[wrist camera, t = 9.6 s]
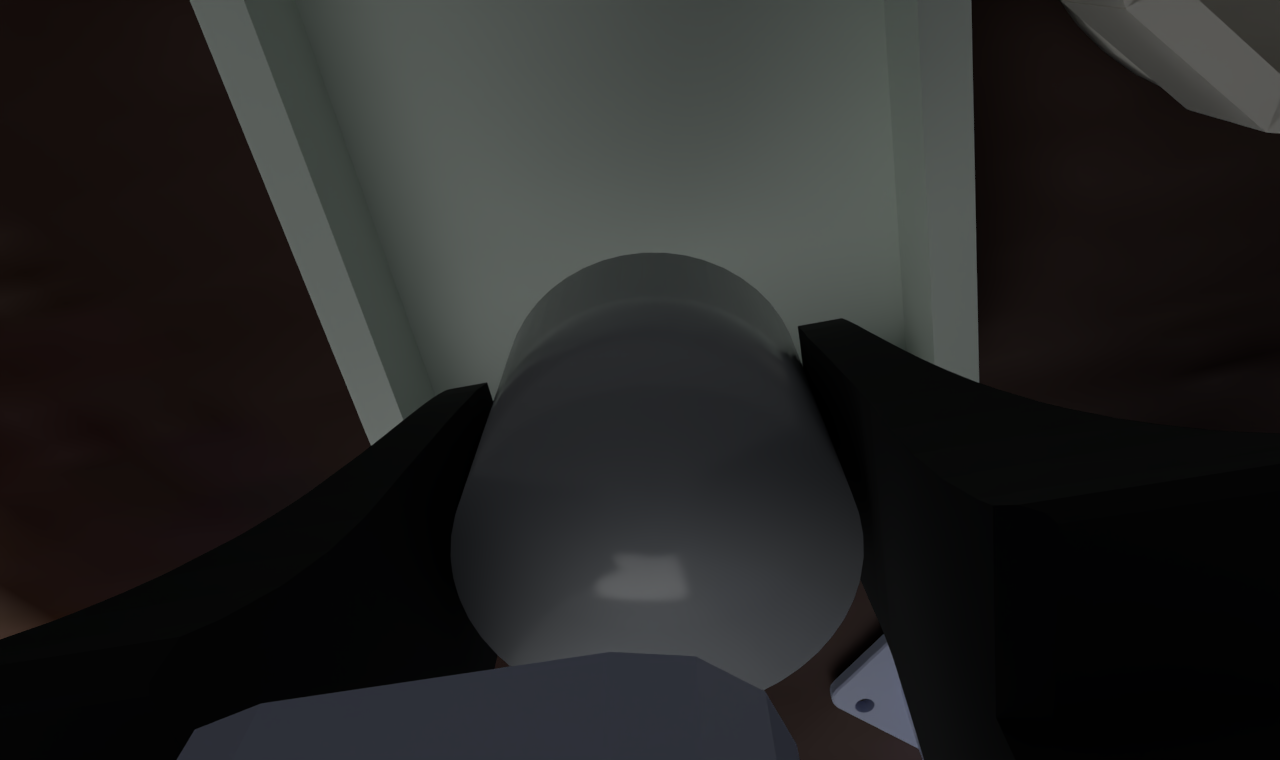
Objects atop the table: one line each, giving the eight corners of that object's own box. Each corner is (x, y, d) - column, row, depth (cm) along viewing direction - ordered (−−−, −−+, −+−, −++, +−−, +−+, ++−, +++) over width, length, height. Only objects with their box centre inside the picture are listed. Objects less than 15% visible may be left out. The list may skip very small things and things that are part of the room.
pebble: (861, 356, 12) (951, 521, 9) (688, 556, 14) (704, 763, 10) (608, 190, 11) (591, 301, 8) (453, 429, 13) (380, 610, 9)
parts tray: (933, 390, 19) (980, 461, 16) (444, 474, 20) (415, 554, 18) (892, -453, 13) (959, -560, 10) (175, -263, 14) (62, -315, 11)
